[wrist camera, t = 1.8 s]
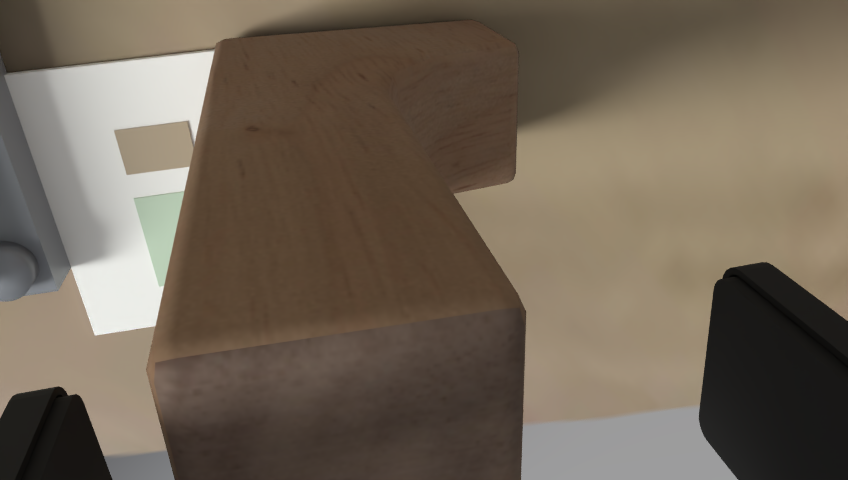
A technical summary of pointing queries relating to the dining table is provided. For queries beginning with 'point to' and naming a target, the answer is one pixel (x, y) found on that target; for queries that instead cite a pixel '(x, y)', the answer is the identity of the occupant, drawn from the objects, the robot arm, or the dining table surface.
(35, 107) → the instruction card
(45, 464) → the robot arm
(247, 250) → the wooden block
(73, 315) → the dining table surface
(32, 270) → the baseplate
